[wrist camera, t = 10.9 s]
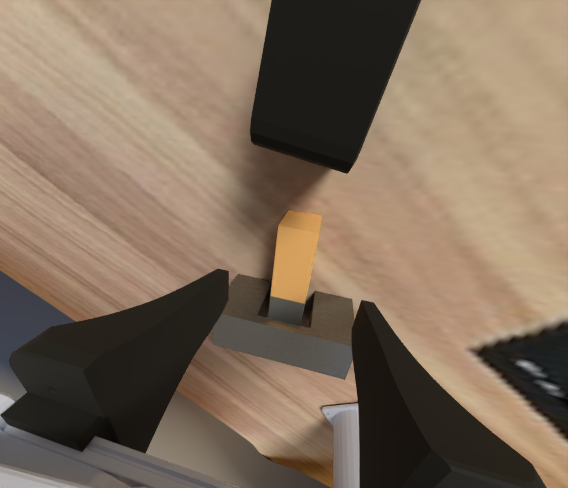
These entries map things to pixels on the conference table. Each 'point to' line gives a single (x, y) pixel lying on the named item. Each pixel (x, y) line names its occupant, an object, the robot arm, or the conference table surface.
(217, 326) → the grey rectangular block
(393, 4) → the electronic device
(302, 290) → the orange and grey bar
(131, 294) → the conference table surface
